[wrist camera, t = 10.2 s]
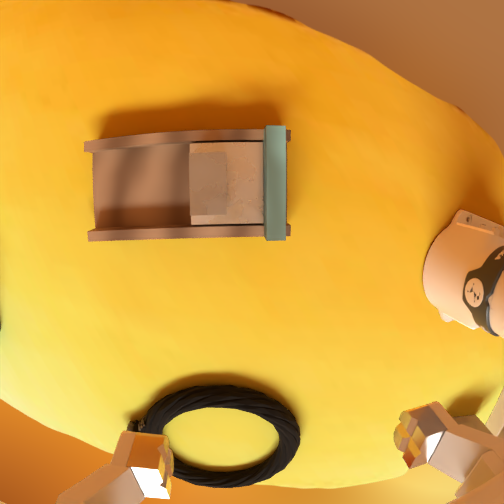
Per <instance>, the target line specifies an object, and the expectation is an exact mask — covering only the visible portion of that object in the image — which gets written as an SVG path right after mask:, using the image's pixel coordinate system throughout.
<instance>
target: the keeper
mask: <svg viewBox="0 0 504 504" xmlns="http://www.w3.org/2000/svg"><path fill="white" fill-rule="evenodd" d="M189 189H190V216H191V225H203V224H248V223H264V187H263V142H221V143H193V144H190V153H189Z"/></svg>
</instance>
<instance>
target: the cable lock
mask: <svg viewBox="0 0 504 504" xmlns="http://www.w3.org/2000/svg"><path fill="white" fill-rule="evenodd" d="M206 407H213V408H232V409H239V410H242V411H246V412H250V413H253V414H256V415H258V416H260V417H262V418H263V419H265V420H267V421H269V422H270V423H271V424H273V425H274V427H275V429H276V430H277V432H278V433H279V438H280V441H279V446H278V448H277V450H276V451H275V453H274V454H273V455H272V456H271V457H270V458H269V459H267V460H266V461H265V462H263V463H262V464H259V465H257V466H255V467H253V468H250V469H248V470H242V471H236V472H230V473H224V472H208V471H203V470H200V469H197V468H194V467H190V466H187V465H185V464H183V463H182V462H180V461H179V460H178V459H176V458H175V457H174V456H173V458H174V470H173V475H172V476H174V477H176V478H179V479H182V480H184V481H187V482H189V483H192V484H195V485H199V486H208V487H213V488H233V487H242V486H249V485H252V484H254V483H257V482H261V481H264V480H266V479H269V478H271V477H272V476H274V475H275V474H276V473H278V472H280V471H282V470H283V469H285V467H286V466H287V465H288V464H289V462H290V461H291V460H292V459H293V457H294V456H295V453H296V451H297V449H298V447H299V445H300V429H299V426H298V424H297V423H296V420H295V417H294V416H293V415H292V413H291V412H290V411H289V410H287V408H286V407H284V406H283V405H282V404H281V403H279V402H278V401H276V400H274V399H272V398H269V397H268V396H266V395H265V394H263V393H261V392H258V391H255V390H252V389H249V388H238V387H235V386H231V385H226V386H195V387H192V388H188V389H185V390H181V391H178V392H176V393H175V394H171V395H168V396H166V397H164V398H163V399H161V400H160V401H158V402H157V403H156V404H155V405H154V406H153V407H152V408H151V409H150V410H149V411H148V413H147V414H146V415H145V416H144V417H143V418H142V419H141V421H138V420H136V422H135V424H134V423H133V422H132V421H130V423H129V424H128V427H127V431H131V432H140V433H148V434H158V435H162V431H163V428H164V426H165V425H166V424H167V423H169V422H170V421H171V420H172V419H173V418H174V417H176V416H178V415H180V414H182V413H184V412H188V411H192V410H196V409H201V408H206Z"/></svg>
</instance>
